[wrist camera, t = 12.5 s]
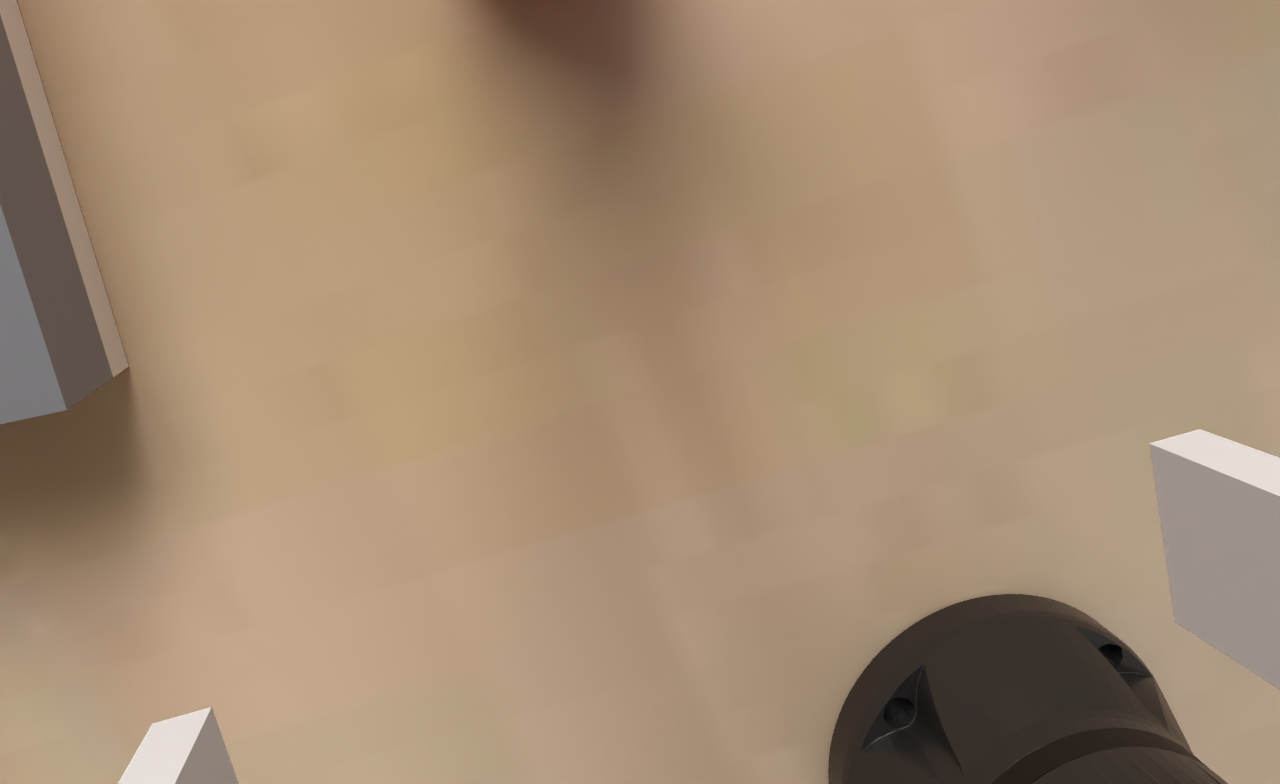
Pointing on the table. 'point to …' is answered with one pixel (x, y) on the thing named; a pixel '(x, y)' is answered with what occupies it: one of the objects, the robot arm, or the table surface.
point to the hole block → (44, 254)
